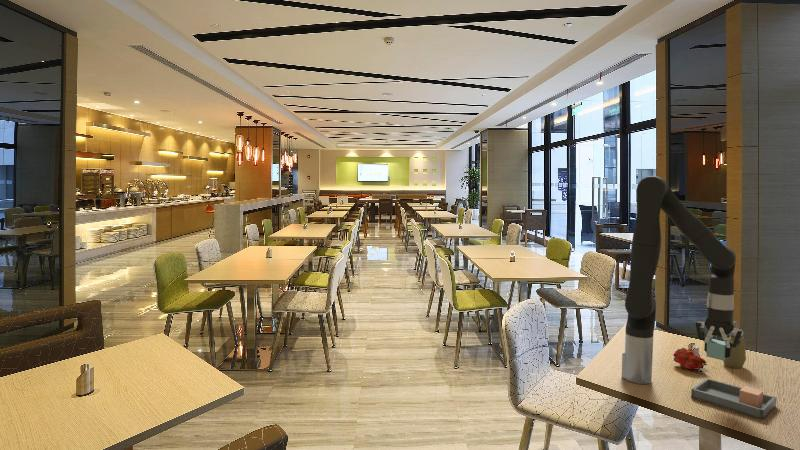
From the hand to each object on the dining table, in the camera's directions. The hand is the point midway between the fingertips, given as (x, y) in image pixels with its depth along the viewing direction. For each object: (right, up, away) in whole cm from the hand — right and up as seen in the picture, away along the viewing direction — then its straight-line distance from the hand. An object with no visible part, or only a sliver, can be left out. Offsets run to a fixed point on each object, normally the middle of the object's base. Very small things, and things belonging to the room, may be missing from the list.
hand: (717, 355), depth 161 cm
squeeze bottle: (+25, -12, +28) cm, 39 cm away
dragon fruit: (+6, -12, +26) cm, 29 cm away
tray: (+3, -15, -3) cm, 15 cm away
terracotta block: (+6, -15, -7) cm, 17 cm away
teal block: (0, 0, 0) cm, 0 cm away
